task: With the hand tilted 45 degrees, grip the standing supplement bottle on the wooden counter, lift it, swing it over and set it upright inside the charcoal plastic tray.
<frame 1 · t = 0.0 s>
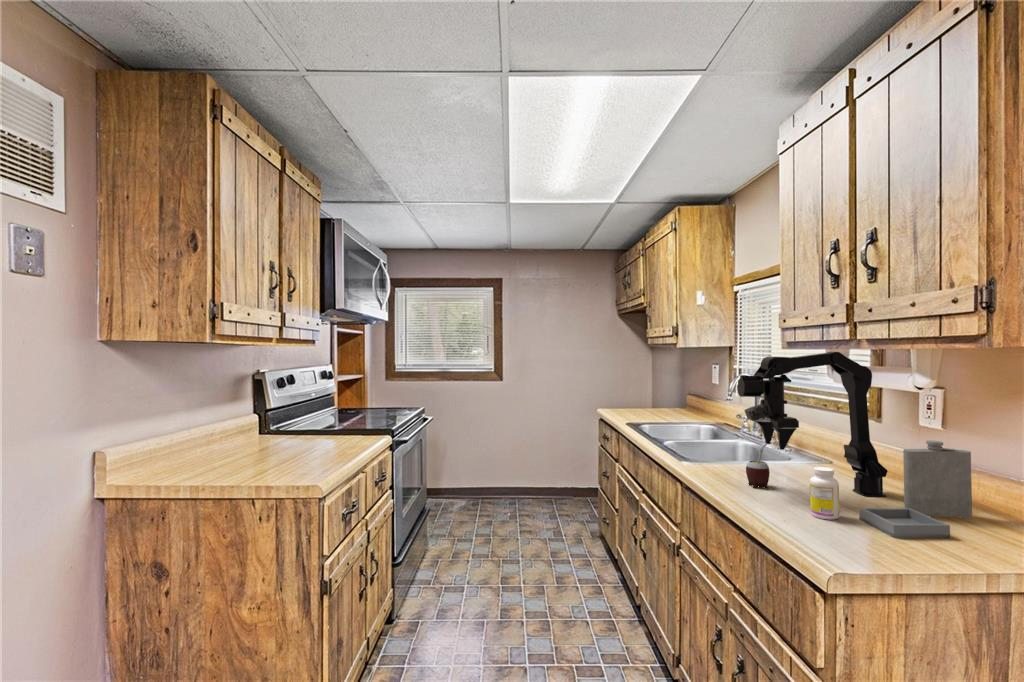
hand: (774, 446, 159), 15 cm above the worktop, tool pointing down, fingers open, 9 cm apart
mate gourd: (759, 487, 167), on the worktop
supplement bottle: (824, 517, 138), on the worktop
hip flask: (936, 516, 138), on the worktop
tray: (902, 528, 128), on the worktop
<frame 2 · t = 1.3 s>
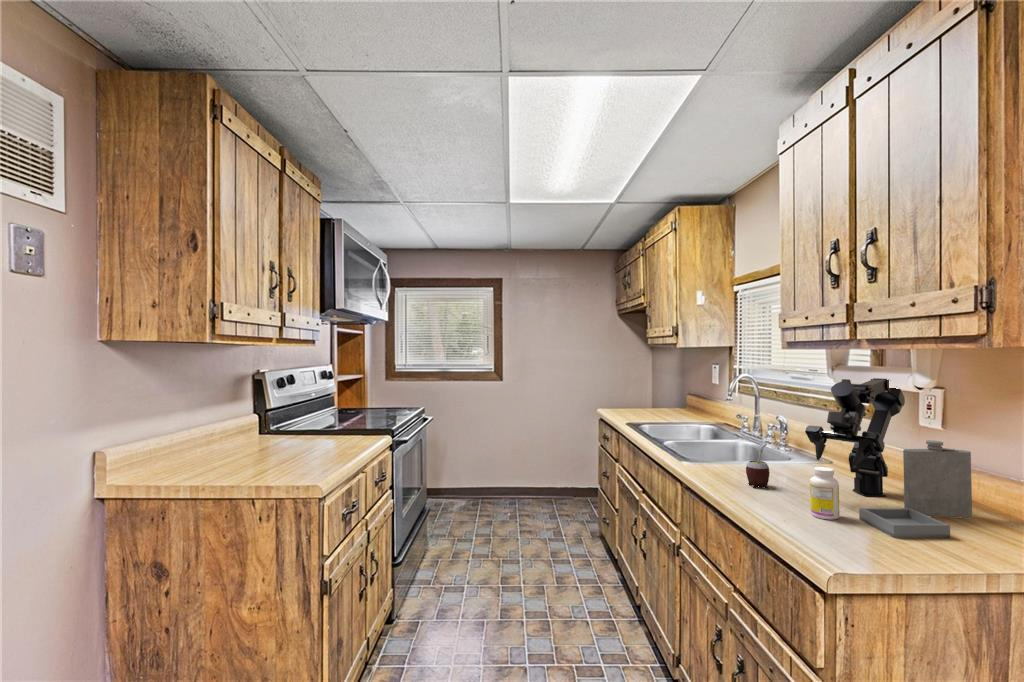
hand: (835, 462, 143), 13 cm above the worktop, tool tilted 45°, fingers open, 9 cm apart
nothing on the worktop moved.
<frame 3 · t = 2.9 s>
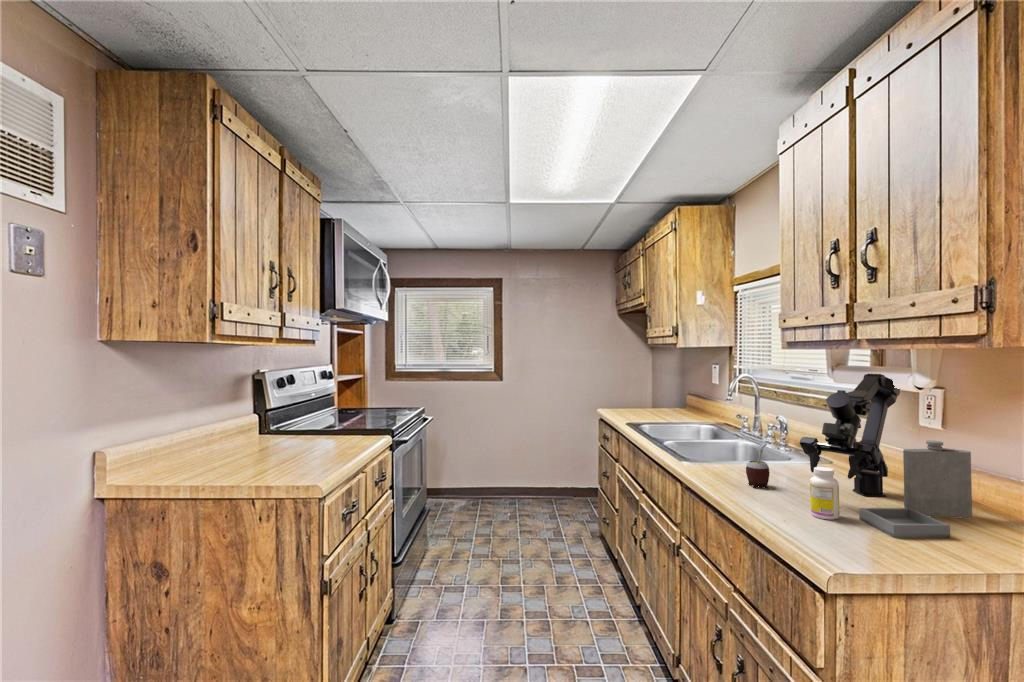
hand: (829, 474, 140), 11 cm above the worktop, tool tilted 45°, fingers open, 9 cm apart
nothing on the worktop moved.
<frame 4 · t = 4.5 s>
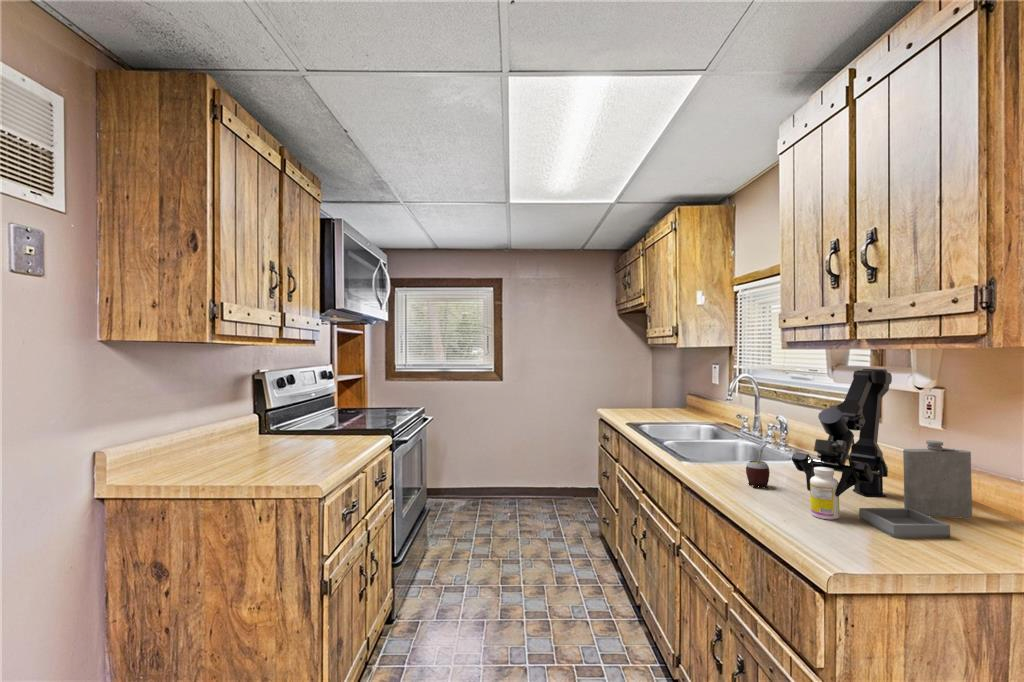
hand: (822, 492, 137), 7 cm above the worktop, tool tilted 45°, fingers closed on supplement bottle, 7 cm apart
supplement bottle: (824, 517, 138), on the worktop, touching gripper
everything else where it was.
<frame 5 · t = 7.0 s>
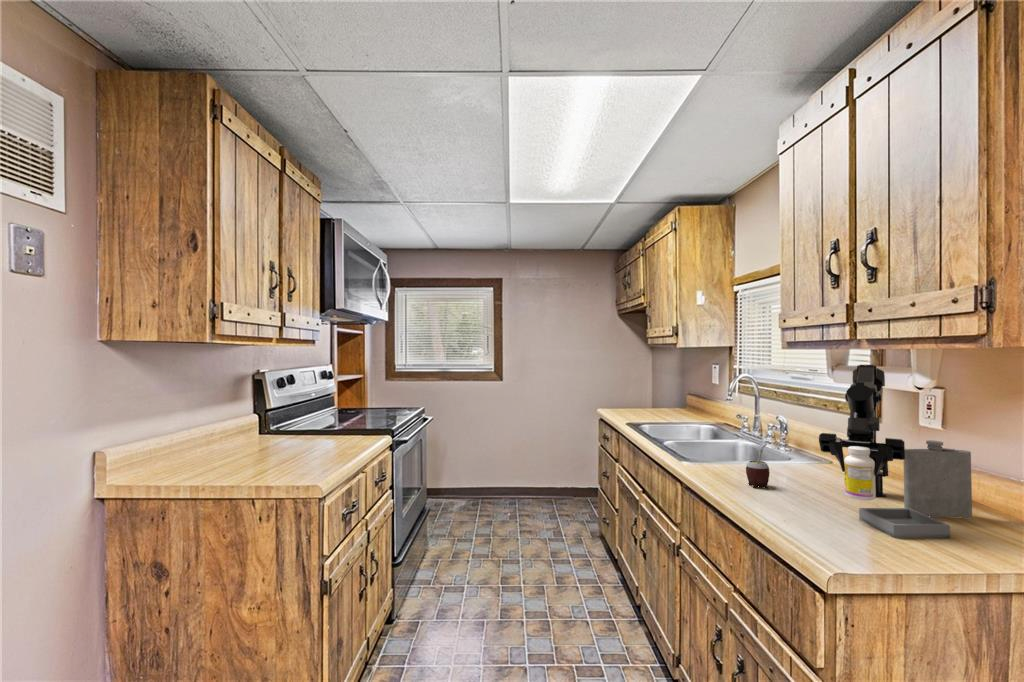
hand: (859, 472, 132), 13 cm above the worktop, tool tilted 45°, fingers closed on supplement bottle, 7 cm apart
supplement bottle: (860, 498, 133), point 6 cm above the worktop, touching gripper
everything else where it was.
when the fingers open (9 cm above the worktop, at t = 9.3 s): supplement bottle stays where it is, resting on tray.
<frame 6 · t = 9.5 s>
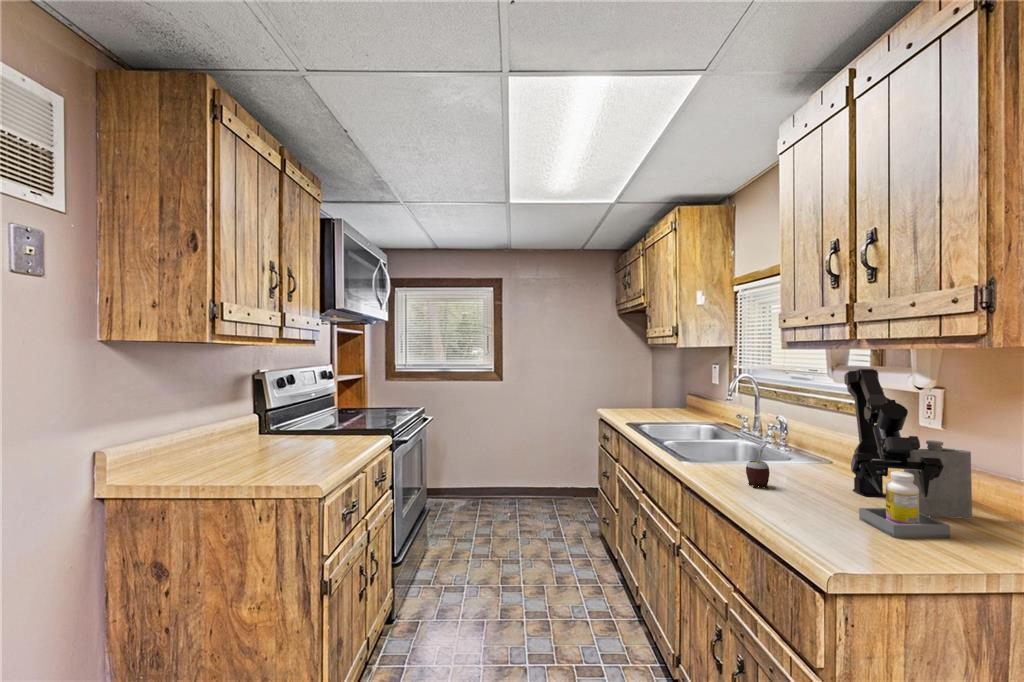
hand: (903, 494, 127), 9 cm above the worktop, tool tilted 45°, fingers open, 9 cm apart
supplement bottle: (902, 524, 129), point 1 cm above the worktop, touching tray
everything else where it was.
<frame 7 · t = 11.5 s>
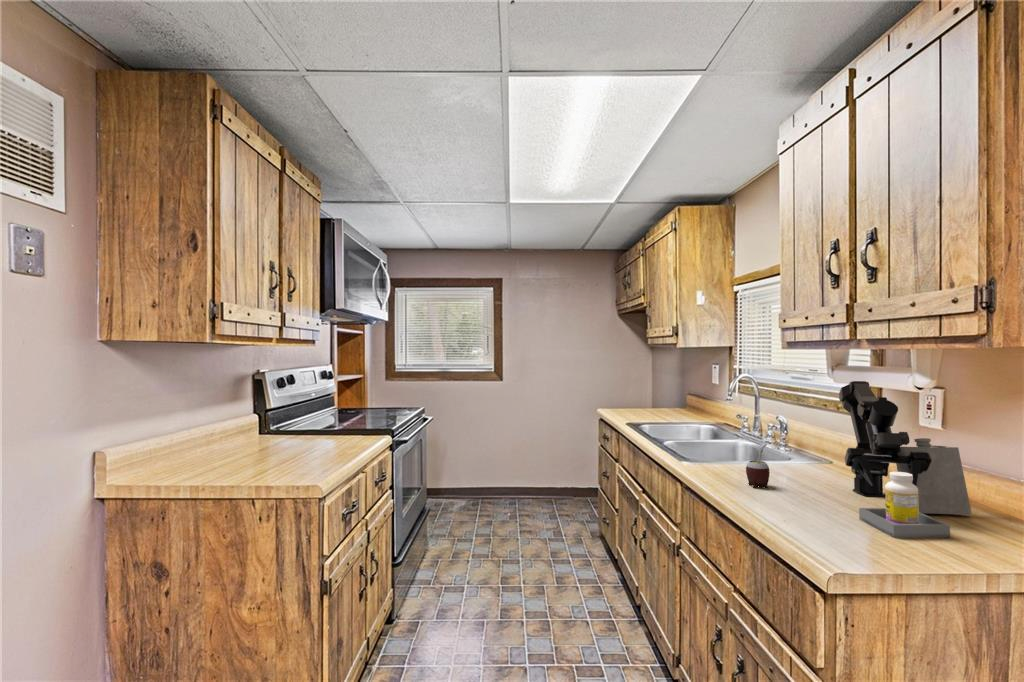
hand: (893, 486, 135), 9 cm above the worktop, tool tilted 45°, fingers open, 9 cm apart
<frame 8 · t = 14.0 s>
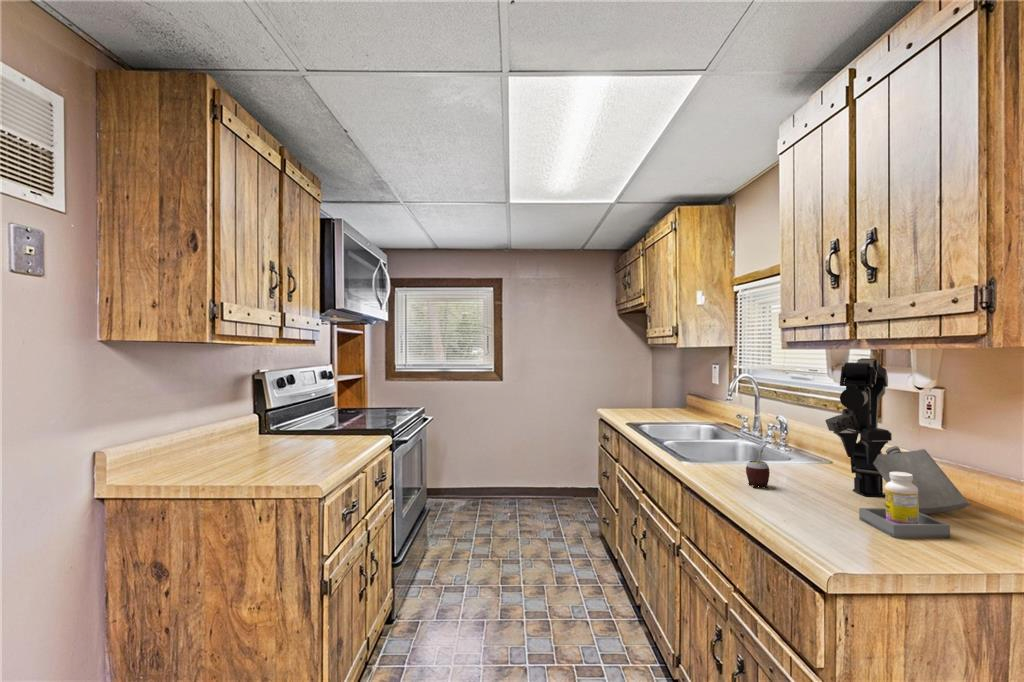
hand: (859, 460, 146), 13 cm above the worktop, tool pointing down, fingers open, 9 cm apart
hip flask: (938, 510, 137), point 1 cm above the worktop, touching arm
everything else where it was.
at the end: supplement bottle inside the target area on the tray (0.2 cm from its centre), point 0.6 cm above the tray's base; supplement bottle tilted 0°; the gripper is holding nothing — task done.
